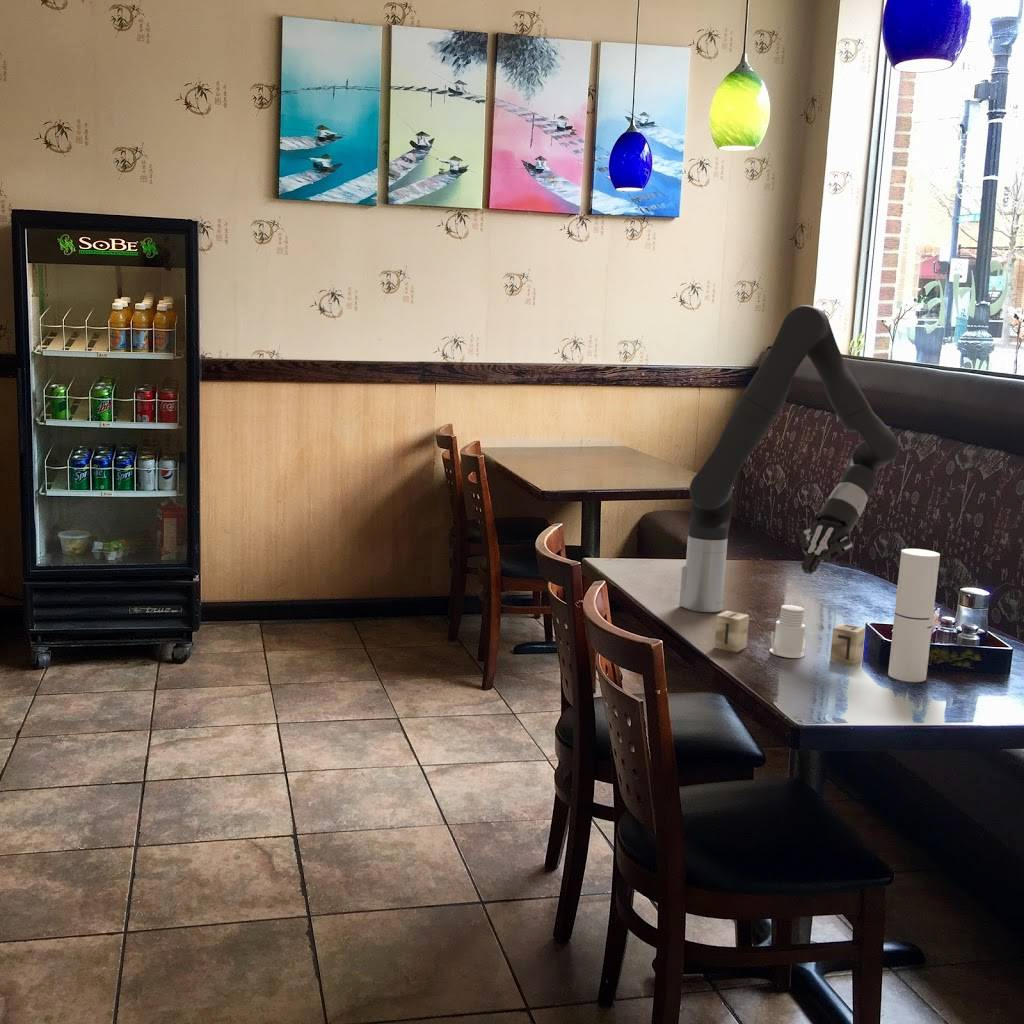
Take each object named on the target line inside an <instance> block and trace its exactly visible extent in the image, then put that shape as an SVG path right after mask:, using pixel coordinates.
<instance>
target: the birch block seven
mask: <svg viewBox="0 0 1024 1024" xmlns="http://www.w3.org/2000/svg"><path fill="white" fill-rule="evenodd" d="M865 633H866V627H863V626H860V625H859V626H858V625H855V624H849V623H842V622H841V623H839V624H837V625H835V626H834V627H832V636H831V637H832V638H831V645H830V646H831V647H830V656H829V657H830V658H829V661H830V662H834V663H839V664H843V665H847V666H853V667H854V666H856V665H857V664H860V663H861V662H862V661H863V656H864V655H863V654H864V646H865V645H864V643H865V636H866V634H865Z"/></svg>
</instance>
